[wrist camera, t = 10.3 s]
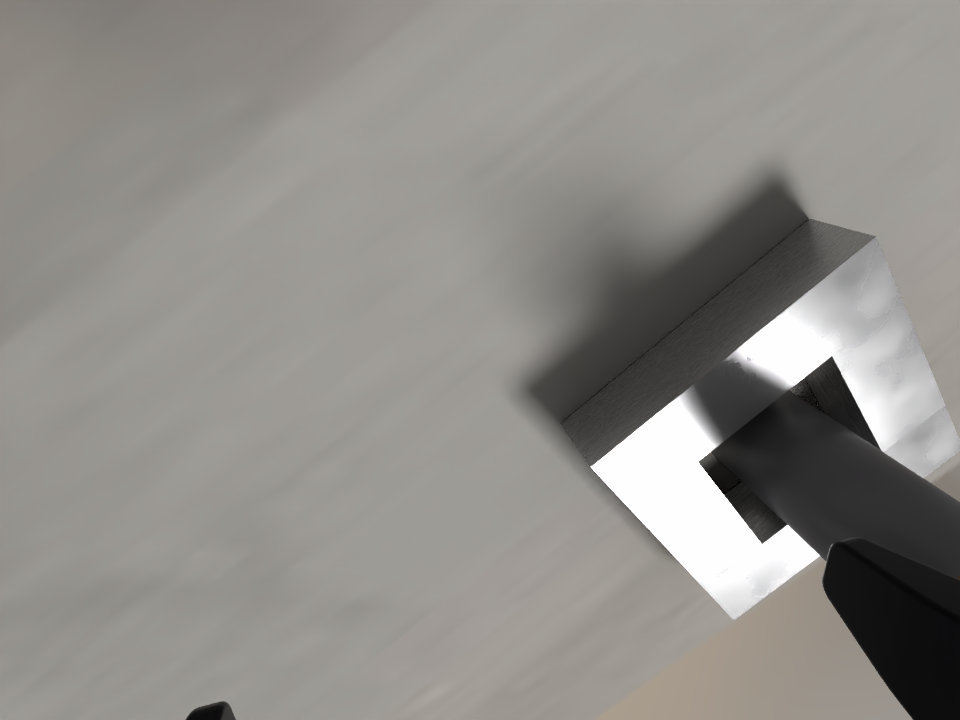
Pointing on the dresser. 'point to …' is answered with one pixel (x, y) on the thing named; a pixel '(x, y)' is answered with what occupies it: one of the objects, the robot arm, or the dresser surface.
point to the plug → (841, 486)
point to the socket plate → (763, 403)
